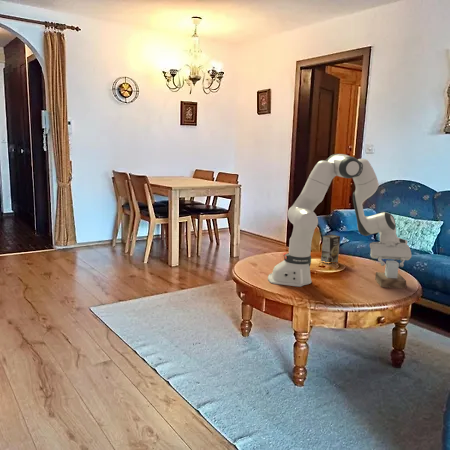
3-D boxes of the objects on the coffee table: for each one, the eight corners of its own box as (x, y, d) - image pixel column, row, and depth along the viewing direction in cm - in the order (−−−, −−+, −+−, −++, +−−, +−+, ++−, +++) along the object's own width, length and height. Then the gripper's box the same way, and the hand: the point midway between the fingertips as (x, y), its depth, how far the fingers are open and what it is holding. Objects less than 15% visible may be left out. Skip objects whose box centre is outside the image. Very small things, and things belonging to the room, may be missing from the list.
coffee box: (329, 264, 254) (331, 238, 251) (320, 262, 259) (322, 236, 255) (338, 262, 260) (340, 236, 257) (329, 259, 265) (331, 234, 261)
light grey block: (387, 277, 221) (388, 262, 219) (384, 274, 226) (386, 260, 224) (397, 278, 220) (398, 263, 219) (394, 275, 225) (396, 260, 224)
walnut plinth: (381, 287, 219) (381, 279, 218) (375, 279, 230) (375, 272, 230) (405, 288, 218) (406, 281, 217) (398, 280, 229) (399, 273, 229)
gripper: (370, 238, 227) (373, 261, 220) (410, 240, 226) (414, 264, 218) (367, 244, 233) (370, 267, 225) (406, 246, 231) (410, 269, 223)
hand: (392, 265), depth 222 cm, fingers open, 8 cm apart
